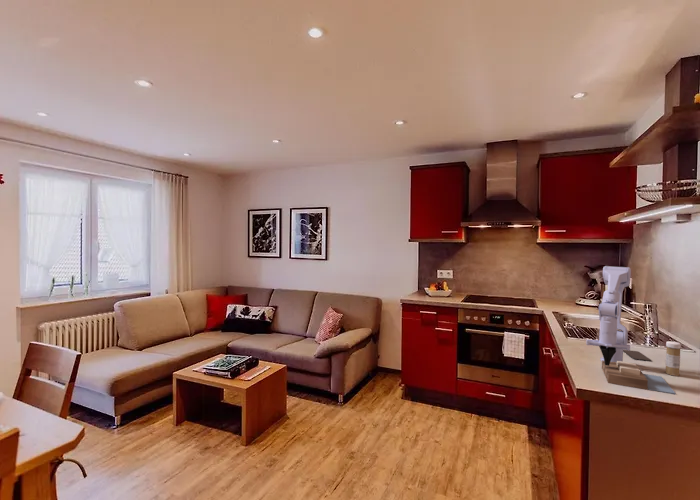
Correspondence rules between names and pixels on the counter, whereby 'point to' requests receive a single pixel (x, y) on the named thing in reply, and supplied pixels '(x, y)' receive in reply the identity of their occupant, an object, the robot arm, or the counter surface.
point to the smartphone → (637, 355)
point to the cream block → (628, 368)
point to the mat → (658, 384)
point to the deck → (623, 377)
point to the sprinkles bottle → (673, 358)
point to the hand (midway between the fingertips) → (606, 364)
